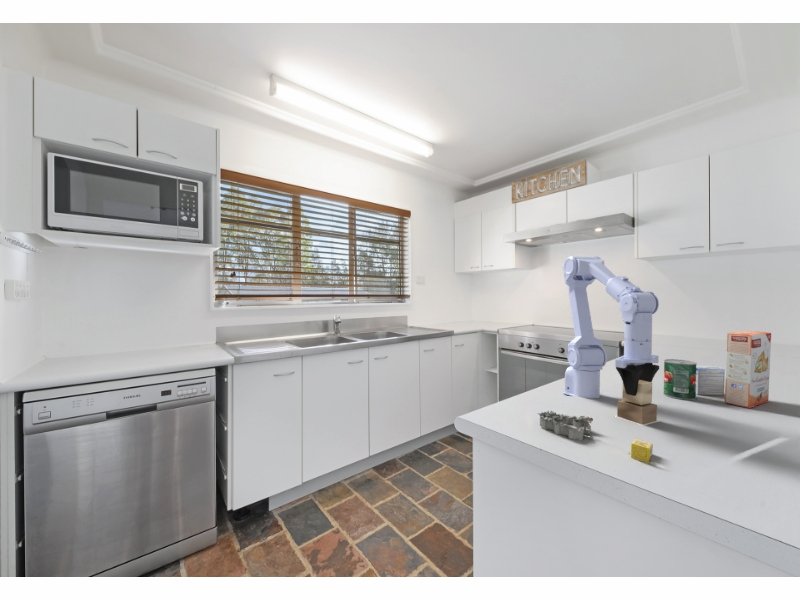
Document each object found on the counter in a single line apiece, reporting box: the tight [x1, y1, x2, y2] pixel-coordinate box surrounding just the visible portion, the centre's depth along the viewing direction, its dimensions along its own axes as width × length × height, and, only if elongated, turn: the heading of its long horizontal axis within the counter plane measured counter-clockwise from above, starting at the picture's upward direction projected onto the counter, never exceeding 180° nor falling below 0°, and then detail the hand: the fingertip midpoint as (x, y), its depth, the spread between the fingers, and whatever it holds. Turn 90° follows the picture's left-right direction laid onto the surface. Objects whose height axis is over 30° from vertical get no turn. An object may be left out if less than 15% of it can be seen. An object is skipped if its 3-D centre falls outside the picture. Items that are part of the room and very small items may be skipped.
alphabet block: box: [630, 438, 654, 464], centre depth 67 cm, size 3×3×3 cm
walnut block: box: [616, 399, 658, 426], centre depth 86 cm, size 6×6×4 cm
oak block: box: [621, 380, 653, 405], centre depth 86 cm, size 4×4×5 cm
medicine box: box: [696, 365, 726, 396], centre depth 110 cm, size 8×4×9 cm, turn 84°
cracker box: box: [724, 330, 772, 409], centre depth 101 cm, size 14×6×21 cm, turn 117°
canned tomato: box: [662, 358, 697, 401], centre depth 107 cm, size 8×8×11 cm
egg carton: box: [537, 410, 594, 441], centre depth 81 cm, size 11×8×4 cm
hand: (636, 393), depth 86 cm, fingers closed on oak block, 4 cm apart
